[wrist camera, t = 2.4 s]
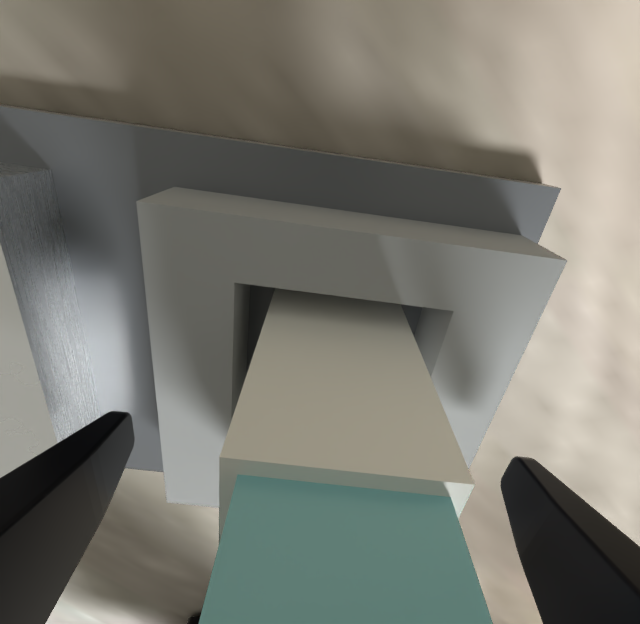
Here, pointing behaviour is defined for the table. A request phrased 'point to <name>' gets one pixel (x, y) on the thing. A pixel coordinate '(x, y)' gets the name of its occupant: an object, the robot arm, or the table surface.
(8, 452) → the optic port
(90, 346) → the station board
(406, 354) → the plug
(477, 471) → the table surface
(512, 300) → the grey square socket frame
